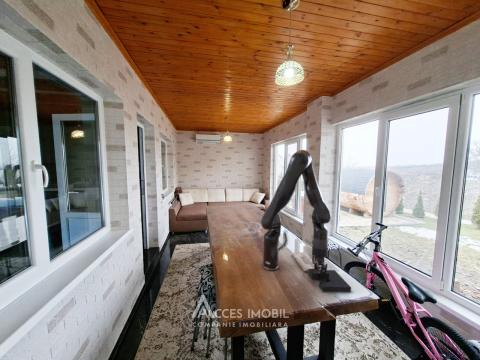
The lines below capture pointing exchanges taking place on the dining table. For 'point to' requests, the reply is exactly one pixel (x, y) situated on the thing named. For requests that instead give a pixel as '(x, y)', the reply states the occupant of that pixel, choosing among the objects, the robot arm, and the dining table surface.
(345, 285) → the notched mat
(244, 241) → the dining table surface
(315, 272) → the black pad
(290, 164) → the robot arm
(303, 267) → the newspaper
